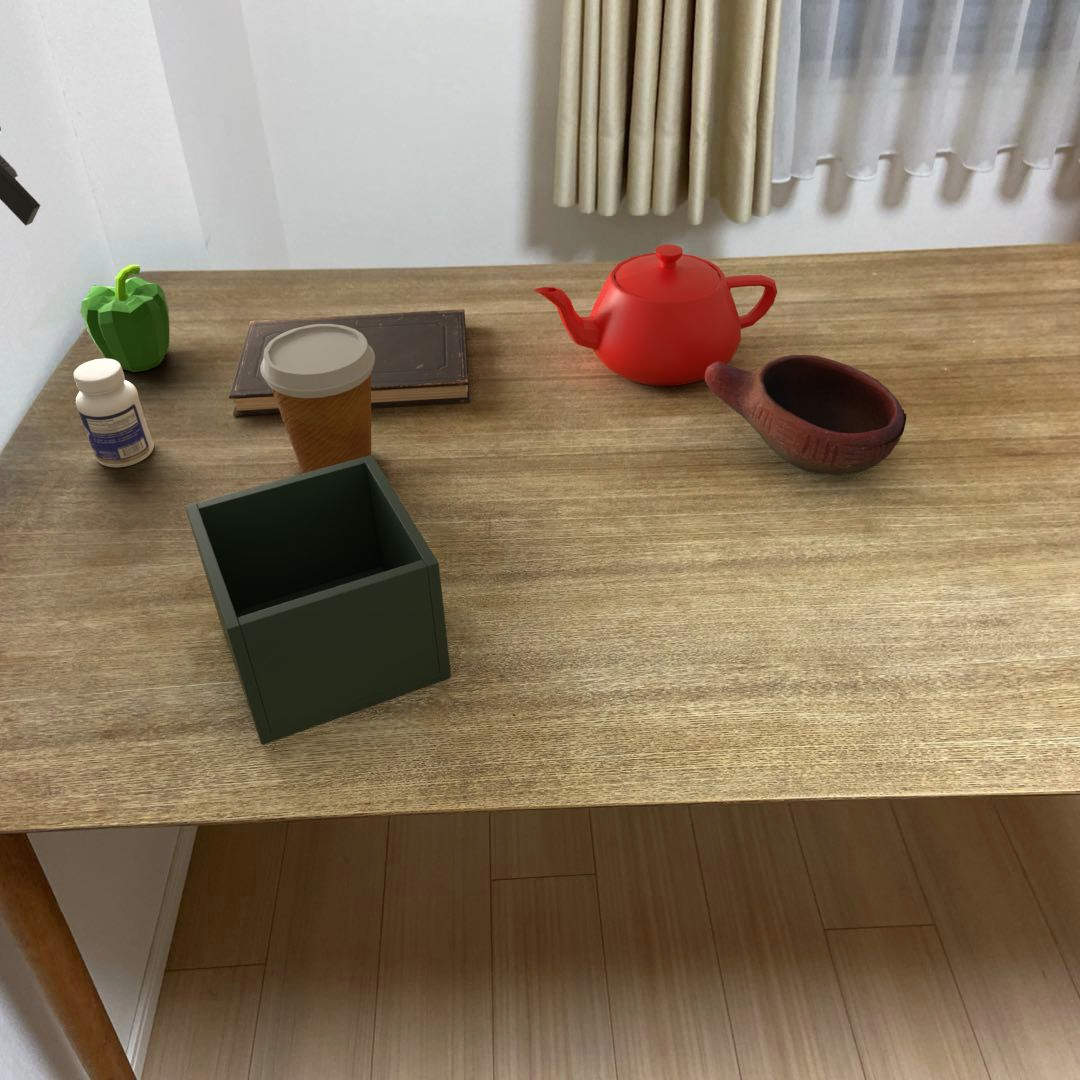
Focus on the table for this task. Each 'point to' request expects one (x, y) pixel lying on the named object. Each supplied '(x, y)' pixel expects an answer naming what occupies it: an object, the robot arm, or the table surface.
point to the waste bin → (322, 594)
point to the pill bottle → (112, 414)
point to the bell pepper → (128, 321)
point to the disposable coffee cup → (322, 392)
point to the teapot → (663, 317)
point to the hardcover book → (400, 359)
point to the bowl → (814, 411)
